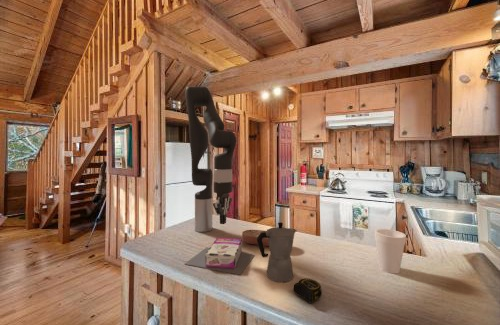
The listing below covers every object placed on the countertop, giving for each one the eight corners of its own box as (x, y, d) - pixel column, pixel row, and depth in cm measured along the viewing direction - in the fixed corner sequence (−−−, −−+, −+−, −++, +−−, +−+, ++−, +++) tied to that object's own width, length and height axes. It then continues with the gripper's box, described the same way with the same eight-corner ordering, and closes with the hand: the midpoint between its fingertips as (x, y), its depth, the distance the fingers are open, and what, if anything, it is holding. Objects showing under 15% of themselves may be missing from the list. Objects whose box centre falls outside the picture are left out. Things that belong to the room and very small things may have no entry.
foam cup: (394, 278, 75) (395, 239, 75) (368, 266, 83) (369, 231, 83) (410, 271, 80) (411, 235, 79) (384, 260, 88) (385, 227, 87)
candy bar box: (216, 248, 98) (204, 266, 81) (217, 237, 98) (204, 253, 81) (242, 250, 96) (235, 269, 80) (242, 238, 96) (235, 255, 80)
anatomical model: (238, 245, 103) (238, 234, 103) (247, 238, 112) (247, 228, 112) (288, 254, 94) (289, 242, 94) (293, 245, 103) (294, 234, 103)
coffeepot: (287, 265, 84) (288, 216, 83) (304, 277, 75) (305, 223, 75) (250, 274, 77) (250, 222, 77) (264, 289, 69) (264, 230, 68)
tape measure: (291, 294, 66) (292, 281, 66) (307, 287, 70) (308, 275, 70) (310, 307, 61) (310, 293, 61) (326, 298, 65) (326, 285, 65)
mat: (206, 248, 99) (206, 247, 99) (254, 255, 92) (254, 254, 92) (184, 264, 84) (184, 263, 84) (240, 274, 77) (240, 274, 77)
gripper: (221, 178, 98) (221, 218, 99) (206, 181, 86) (206, 227, 86) (237, 179, 96) (237, 220, 96) (224, 182, 83) (224, 229, 84)
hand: (222, 223), depth 91 cm, fingers closed
